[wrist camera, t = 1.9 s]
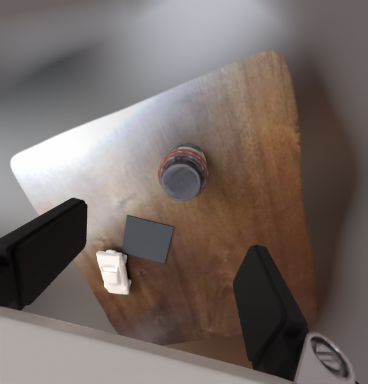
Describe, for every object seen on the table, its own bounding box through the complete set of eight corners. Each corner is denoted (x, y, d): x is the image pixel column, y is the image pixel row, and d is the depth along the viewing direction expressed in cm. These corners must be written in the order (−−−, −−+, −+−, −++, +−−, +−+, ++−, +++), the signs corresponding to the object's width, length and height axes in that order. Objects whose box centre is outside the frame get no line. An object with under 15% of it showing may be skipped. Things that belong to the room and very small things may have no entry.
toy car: (110, 286, 40) (102, 300, 37) (100, 244, 35) (90, 256, 32) (133, 289, 39) (127, 303, 36) (126, 246, 35) (118, 258, 31)
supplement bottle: (194, 185, 29) (191, 220, 19) (162, 168, 28) (141, 194, 18) (213, 154, 27) (222, 173, 16) (179, 135, 26) (166, 142, 16)
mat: (122, 251, 36) (122, 252, 35) (127, 214, 32) (126, 215, 32) (164, 262, 36) (164, 263, 35) (174, 226, 32) (173, 227, 32)
